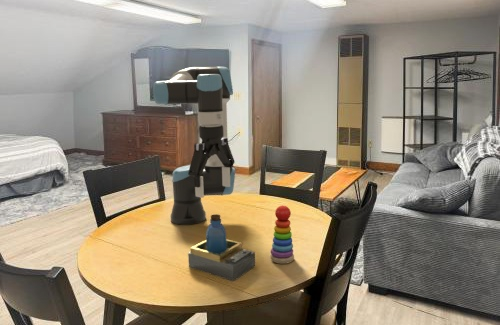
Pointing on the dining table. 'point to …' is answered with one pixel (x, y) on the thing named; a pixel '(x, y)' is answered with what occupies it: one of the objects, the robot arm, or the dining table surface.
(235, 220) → the dining table surface
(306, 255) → the dining table surface
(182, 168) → the robot arm
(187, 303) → the dining table surface
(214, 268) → the gray gold-framed box
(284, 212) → the stacking toy
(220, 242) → the perfume bottle
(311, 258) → the dining table surface
